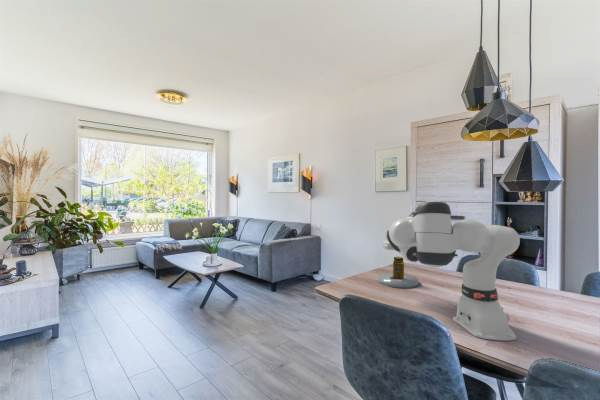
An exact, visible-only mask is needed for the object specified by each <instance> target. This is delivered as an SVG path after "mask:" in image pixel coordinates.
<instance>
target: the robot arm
mask: <svg viewBox="0 0 600 400" xmlns="http://www.w3.org/2000/svg"><path fill="white" fill-rule="evenodd" d="M451 211H452V210H451V208H450V205H449V204H448V203H447V202H443V201H440V200H435V199H434V200H433V199H431V200H426V201H425V202H421V203H420V204H419V205H418V206H417V207H415V210H414V211H412V212H411V213H410V214H409V215H408V216H406V217H405V218H400V219H397V220H395V221H394V222H393V223H392V224H391V225H390V227H389V229H387V231H386V239H387V240H383V242H382V247H383V248H384V250H388V251H396V252H398V253H399V254H400V255H401V257H402V258H403V259H405V260H406V261H408V262H411V263H416V262H419V263H420V264H422V265H424V266H426V267H428V268H442V267H444V266H445V267H446V266H447V265H449V264H450V263H451V262H453V259H454V258H455V257H458V254H457V250H459V251H462V252H466V253H480V257H478V258H475V259H473V260H469V261H467V262H465V263H464V265H463V267H462V284H461V287H460V288H461V289H460V290H461V296H460V297H459V298H458V299H457V308H456V315H455V316H453V318H452V320H453V322H455V323H457V324H458V325H460V327H462V328H463V329H465V330H466V331H467V332H469V333H470V334H471V335H473V336H474V337H477V338H480V339H484V340H490V341H492V340H493V341H515V340H517V339H518V338H517V335H516V334H515V332H514V331H513V330H512V329H511V327H510V326H509V321H510V318H511V317H510V314H509V313H506V312H505V311H504V307H503V306H501V304H500V302H499V294H498V291H497V287H496V280H497V279H496V278H497V271H498V268H499V265H500V263H501V262H502V261H503V260H504V259H505V258H506V257H507V256H510V255H511V254H513V253H515V252H516V251H517V250H518V248H519V246H520V244H521V243H520V241H521V238H520V235H519V234H518V232H517V231H516V230H515V229H514V228H513V227H508V226H505V225H500V224H499V225H498V224H483V223H480V222H479V221H476V220H473V219H462V220H458V221H456V222H454V223H452V218H451V216H452V212H451Z"/></svg>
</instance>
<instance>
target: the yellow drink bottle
mask: <svg viewBox="0 0 600 400" xmlns="http://www.w3.org/2000/svg"><path fill="white" fill-rule="evenodd" d="M392 273H393V276H392V277H390V279H393V280H398V281H401V280H403V279H405V278H407V277H404V274H405V263H404V257H403V256H394V257H393V262H392Z"/></svg>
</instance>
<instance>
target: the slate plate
mask: <svg viewBox="0 0 600 400" xmlns="http://www.w3.org/2000/svg"><path fill="white" fill-rule="evenodd" d="M392 276H393V272H391V273H390V272H389V273H382V274H380V275H378V276H377V279H378V280H377V281H378V283H379V284H381V285H383V286H386V287H391V288H395V289H396V288H397V289H398V288H399V289H411V288H416V287H417V286H418V285H419V278H418V277H415V276H413V275H410V274H405V273H404V277H407V278H405V279H403V280H401V281H398V280H393V279H390V277H392Z"/></svg>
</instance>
